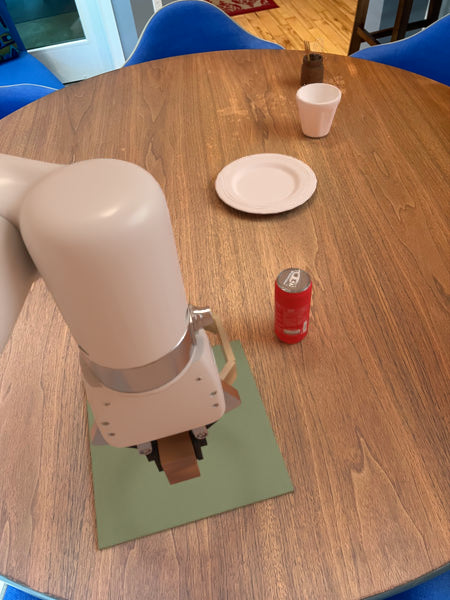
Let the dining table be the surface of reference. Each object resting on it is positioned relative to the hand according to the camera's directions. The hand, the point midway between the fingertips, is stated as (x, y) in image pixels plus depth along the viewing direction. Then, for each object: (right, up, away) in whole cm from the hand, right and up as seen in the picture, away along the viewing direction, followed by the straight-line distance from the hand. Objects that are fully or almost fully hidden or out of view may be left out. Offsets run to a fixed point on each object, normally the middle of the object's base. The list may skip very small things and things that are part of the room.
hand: (178, 450), depth 46 cm
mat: (-2, -3, +19) cm, 19 cm away
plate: (+13, +38, +53) cm, 67 cm away
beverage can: (+15, +9, +28) cm, 33 cm away
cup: (+26, +54, +67) cm, 90 cm away
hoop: (-2, +5, +6) cm, 8 cm away
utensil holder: (+28, +72, +83) cm, 113 cm away
